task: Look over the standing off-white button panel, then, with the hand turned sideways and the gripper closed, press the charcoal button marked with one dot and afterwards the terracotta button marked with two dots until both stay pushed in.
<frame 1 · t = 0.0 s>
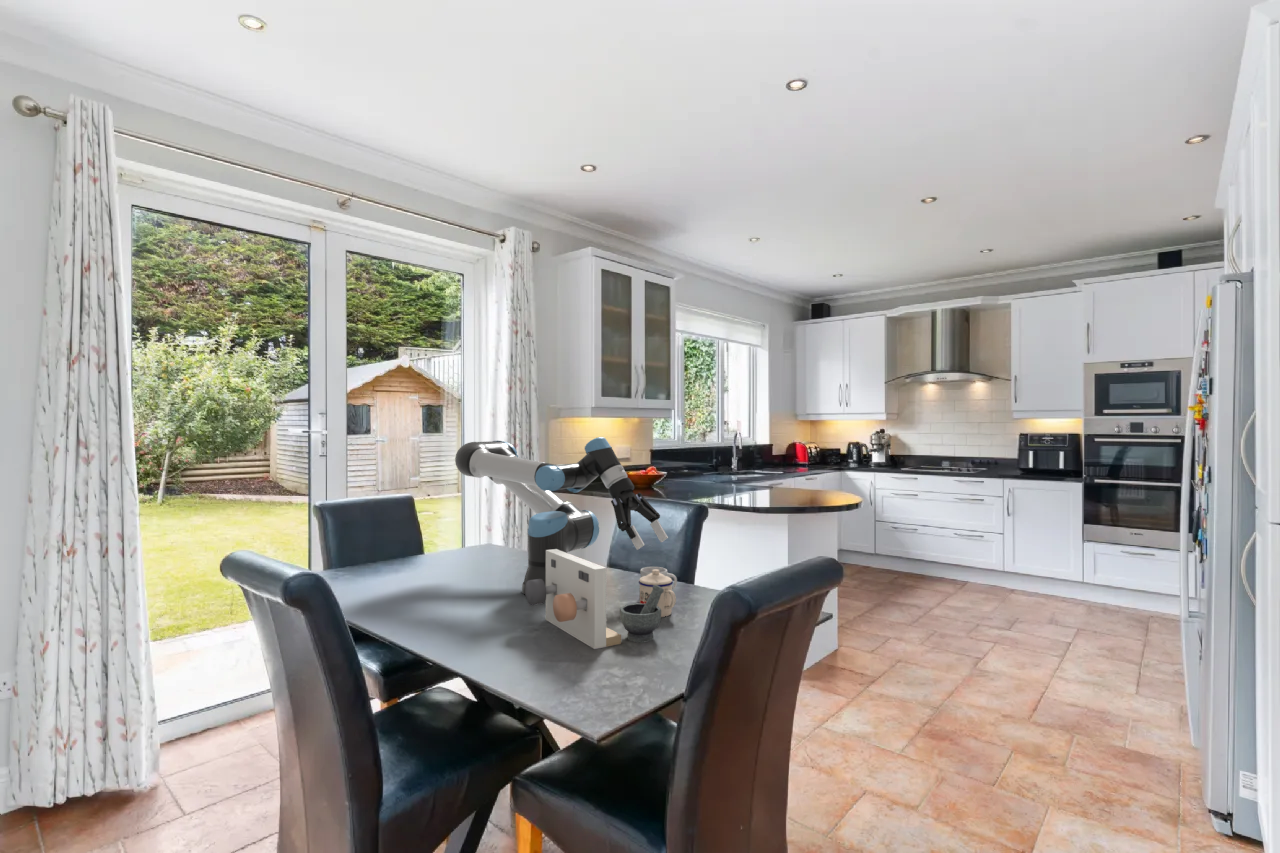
hand: (653, 543, 194), 15 cm above the table, tool tilted 35°, fingers open, 13 cm apart
teacup with lid: (659, 615, 175), on the table
cup: (658, 597, 192), on the table
button panel: (573, 632, 160), on the table
mortar and pestle: (642, 638, 156), on the table
terracotta button: (577, 605, 151), point 9 cm above the table, slide at 0.0 cm
charcoal button: (547, 590, 165), point 9 cm above the table, slide at 0.0 cm
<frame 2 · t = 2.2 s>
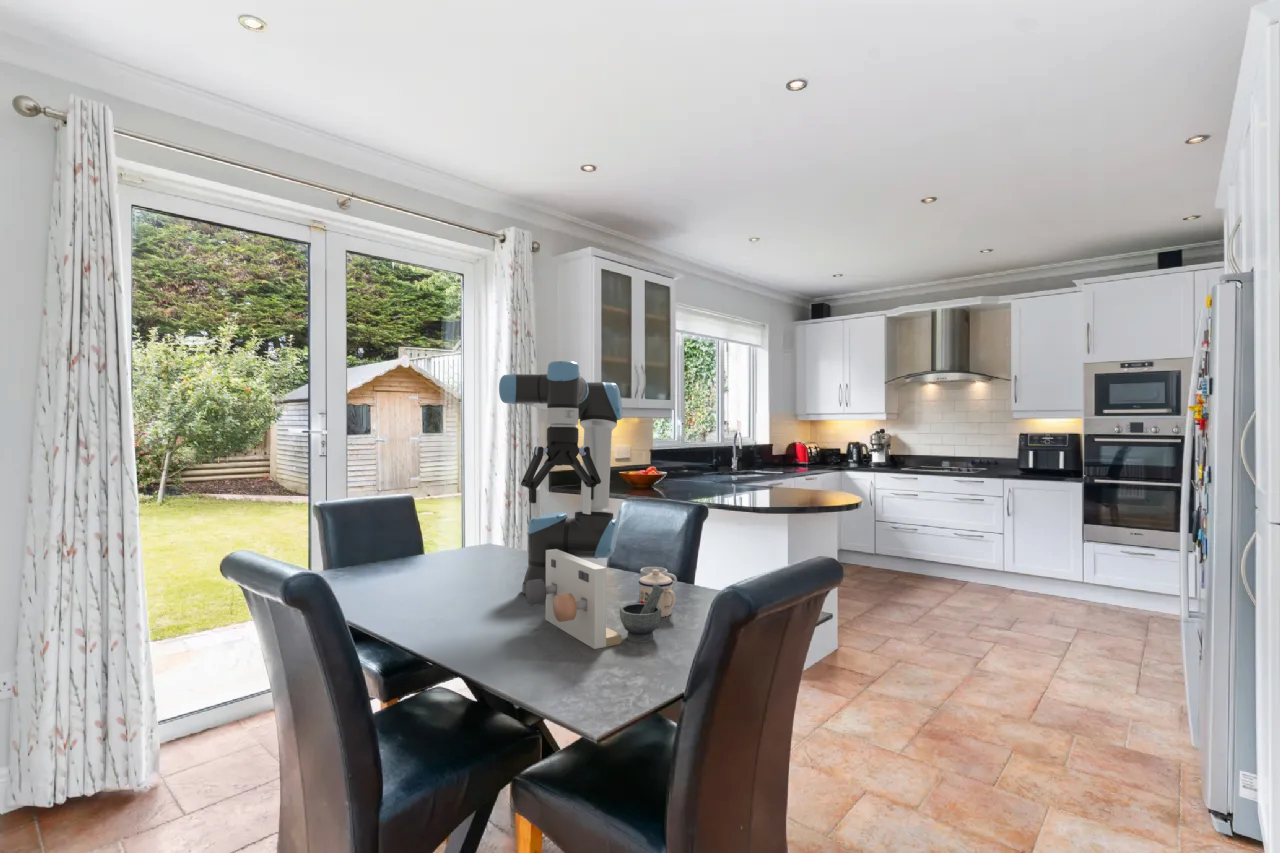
hand: (561, 515, 157), 29 cm above the table, tool pointing down, fingers open, 13 cm apart
nothing on the table moved.
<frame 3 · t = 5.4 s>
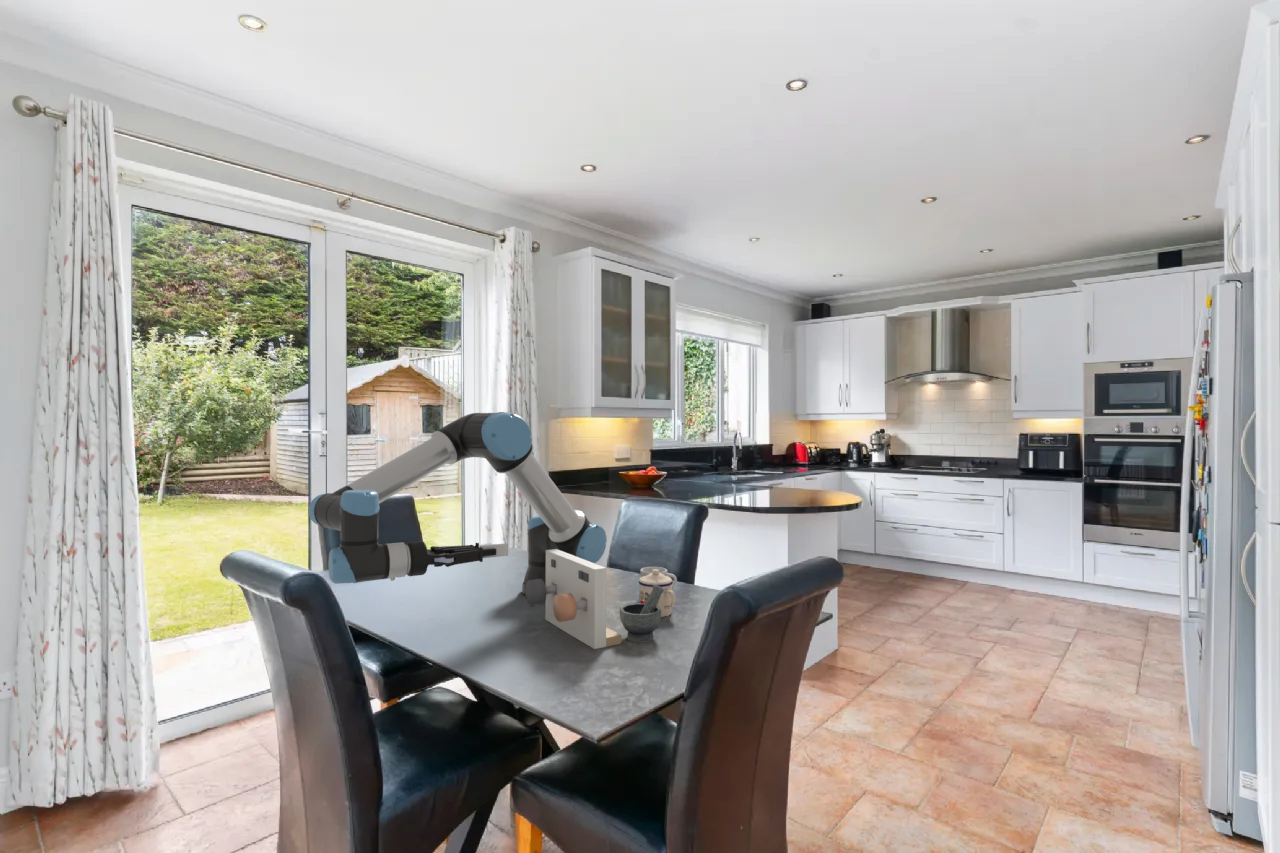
hand: (506, 549, 158), 20 cm above the table, tool horizontal, fingers closed
nothing on the table moved.
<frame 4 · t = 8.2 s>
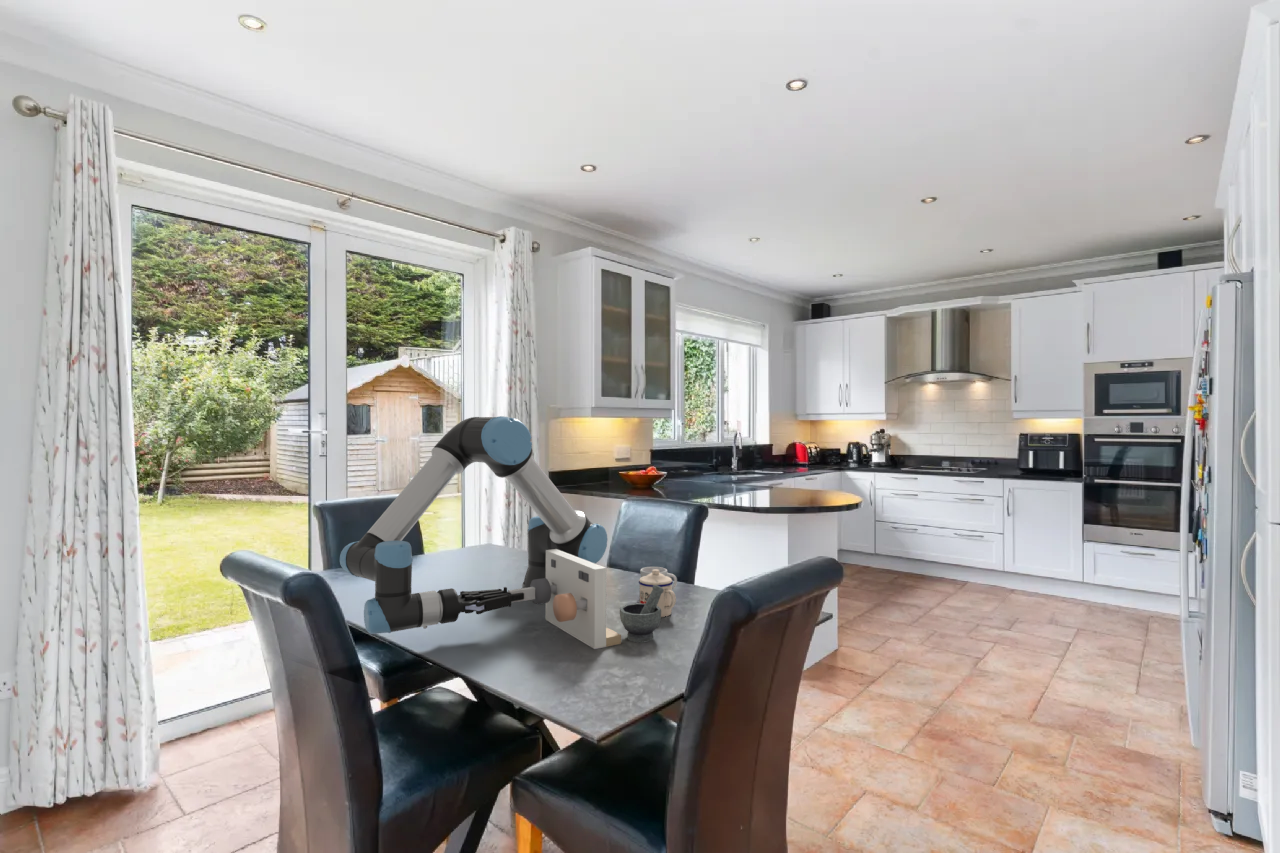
hand: (533, 592, 162), 9 cm above the table, tool horizontal, fingers closed
charcoal button: (552, 589, 165), point 9 cm above the table, slide at 1.3 cm, touching gripper
everything else where it was.
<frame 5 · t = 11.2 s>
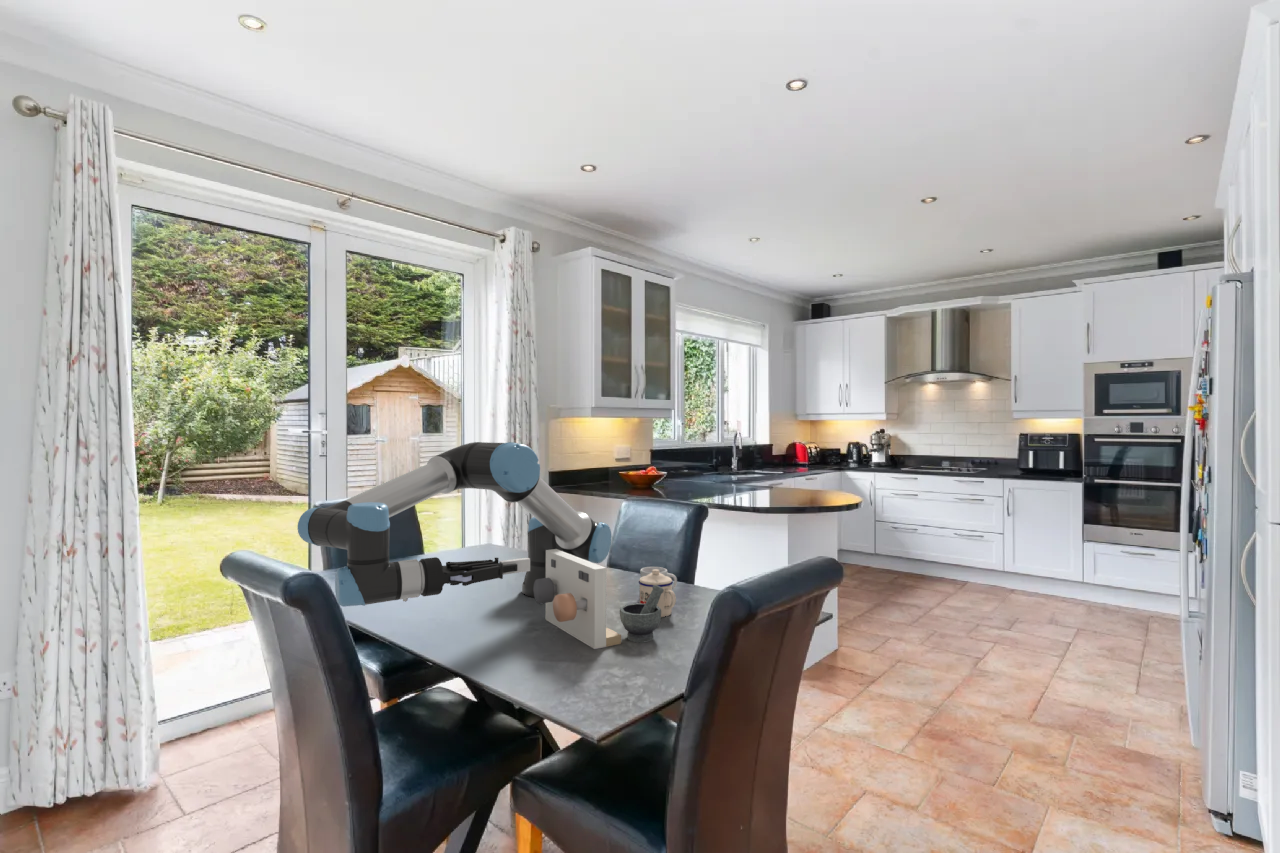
hand: (528, 564, 146), 20 cm above the table, tool horizontal, fingers closed
charcoal button: (555, 588, 166), point 9 cm above the table, slide at 2.2 cm
everything else where it was.
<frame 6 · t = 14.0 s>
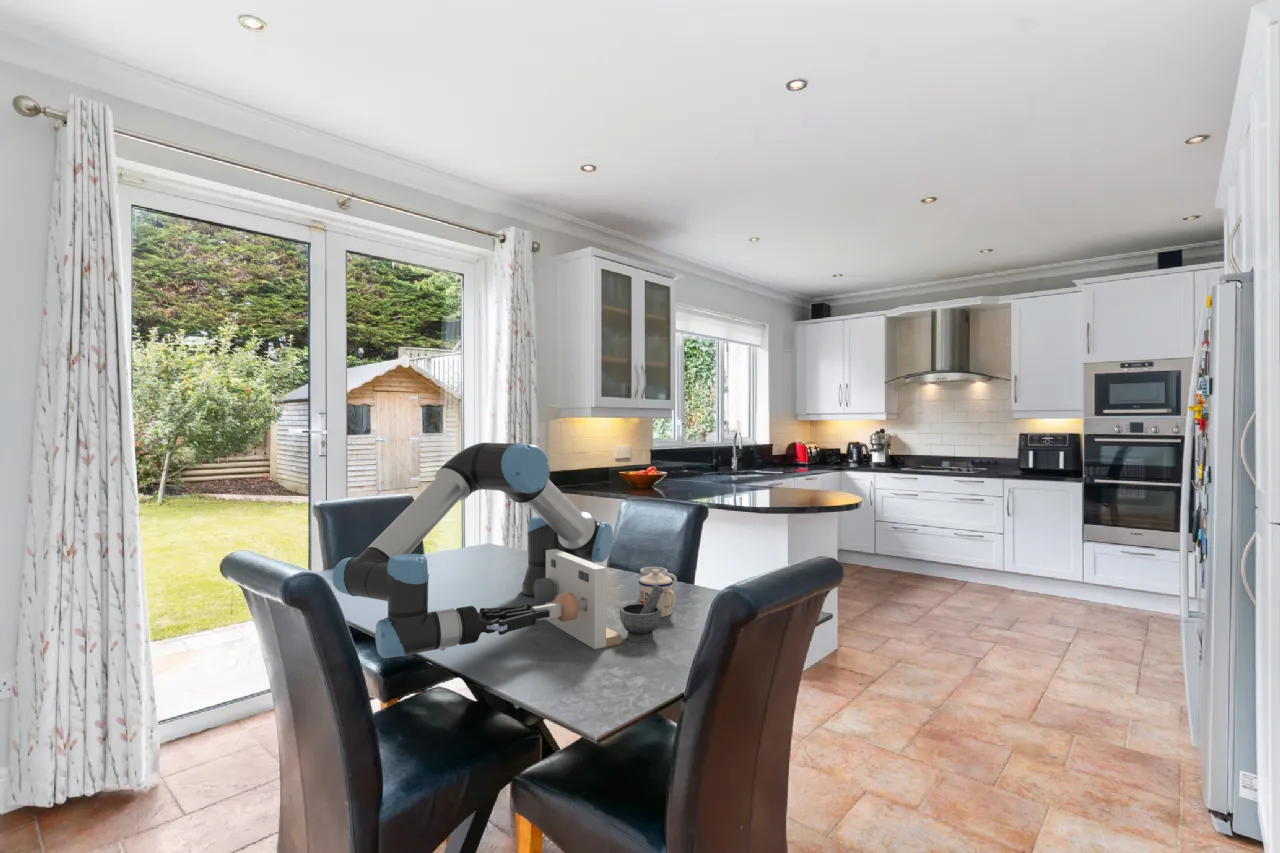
hand: (559, 609, 149), 9 cm above the table, tool horizontal, fingers closed
terracotta button: (579, 604, 151), point 9 cm above the table, slide at 0.5 cm, touching gripper
everything else where it was.
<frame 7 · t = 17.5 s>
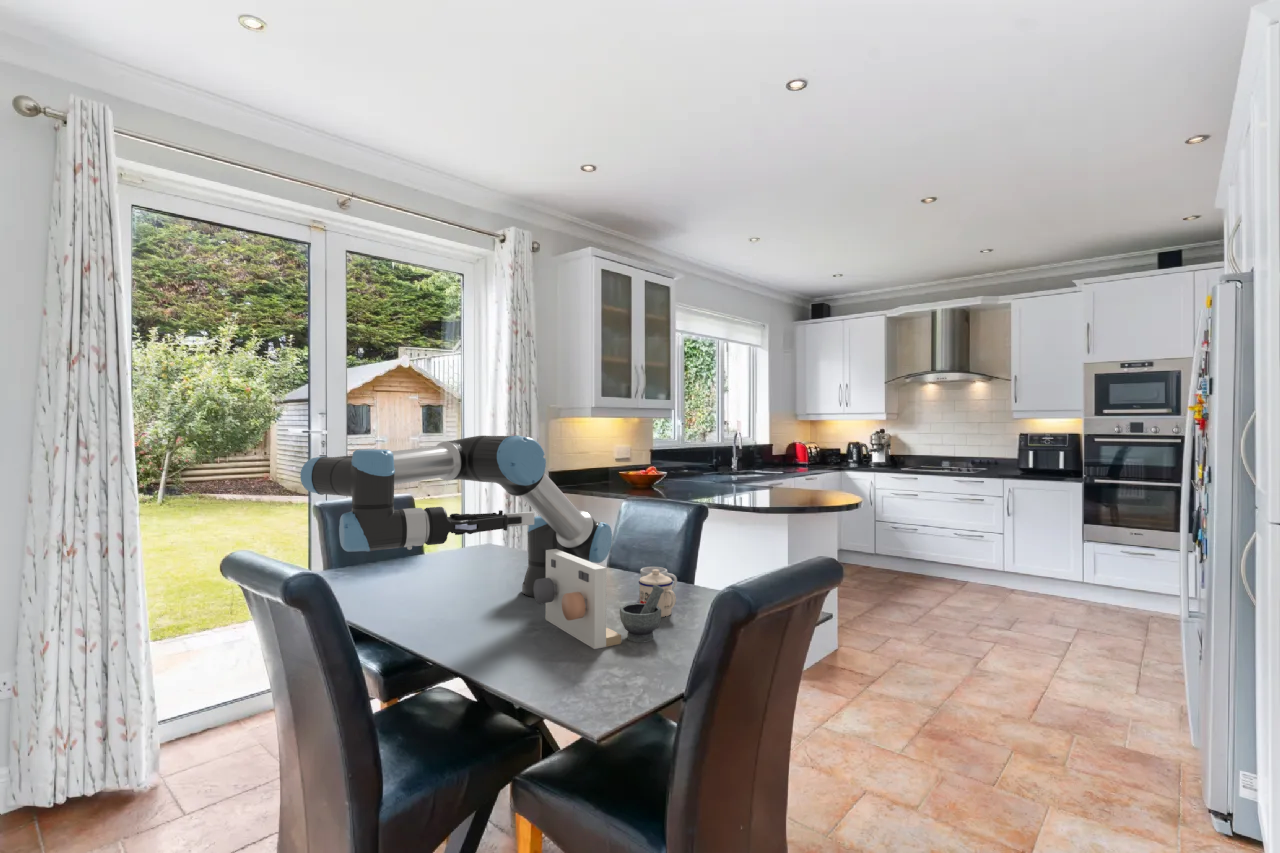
hand: (532, 518, 145), 30 cm above the table, tool horizontal, fingers closed
terracotta button: (585, 603, 152), point 9 cm above the table, slide at 2.2 cm
everything else where it was.
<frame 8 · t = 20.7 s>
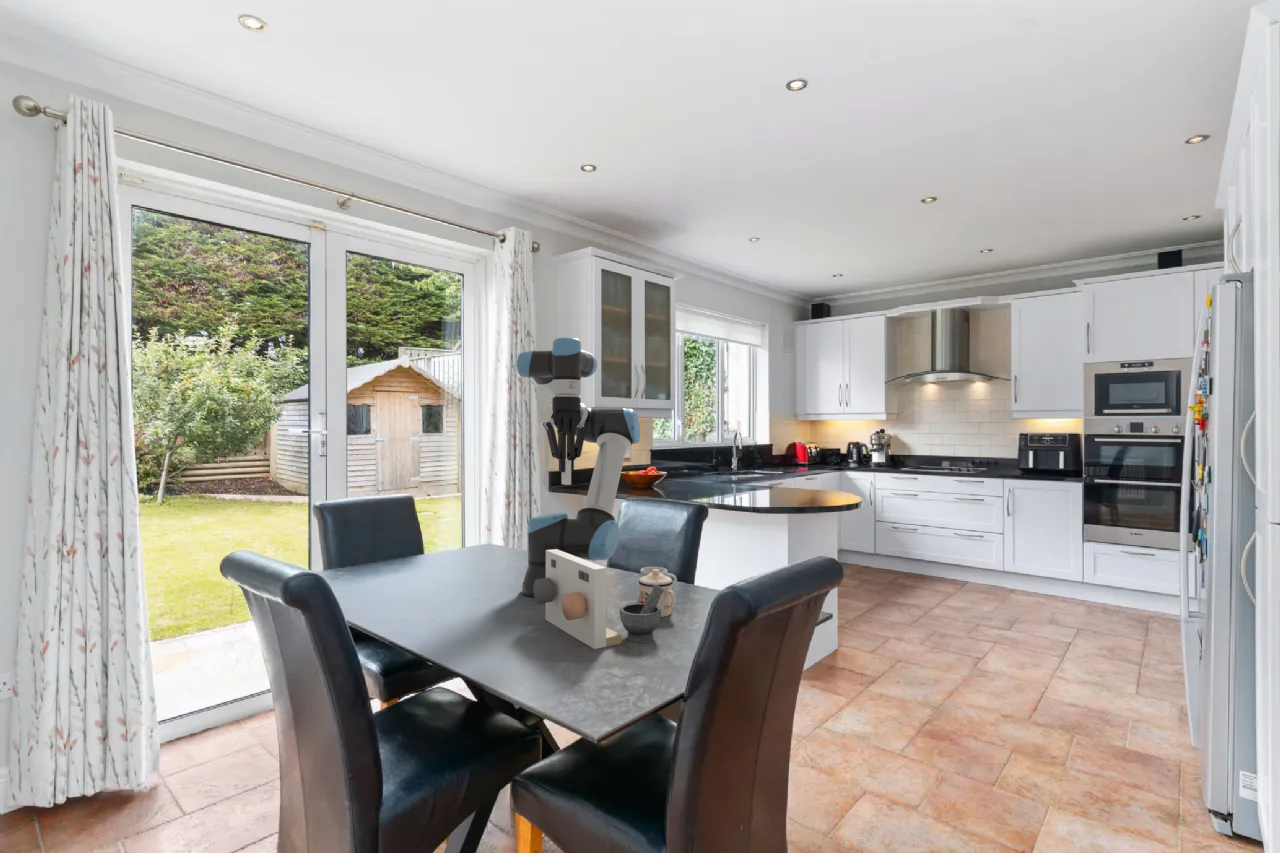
hand: (566, 484, 176), 34 cm above the table, tool pointing down, fingers closed
nothing on the table moved.
at the end: charcoal button slide at 2.2 cm; terracotta button slide at 2.2 cm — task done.
